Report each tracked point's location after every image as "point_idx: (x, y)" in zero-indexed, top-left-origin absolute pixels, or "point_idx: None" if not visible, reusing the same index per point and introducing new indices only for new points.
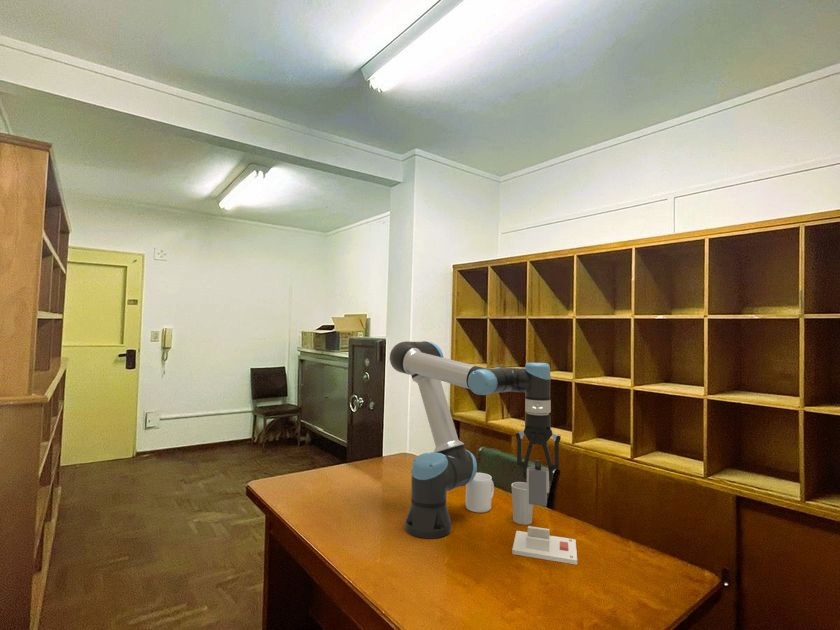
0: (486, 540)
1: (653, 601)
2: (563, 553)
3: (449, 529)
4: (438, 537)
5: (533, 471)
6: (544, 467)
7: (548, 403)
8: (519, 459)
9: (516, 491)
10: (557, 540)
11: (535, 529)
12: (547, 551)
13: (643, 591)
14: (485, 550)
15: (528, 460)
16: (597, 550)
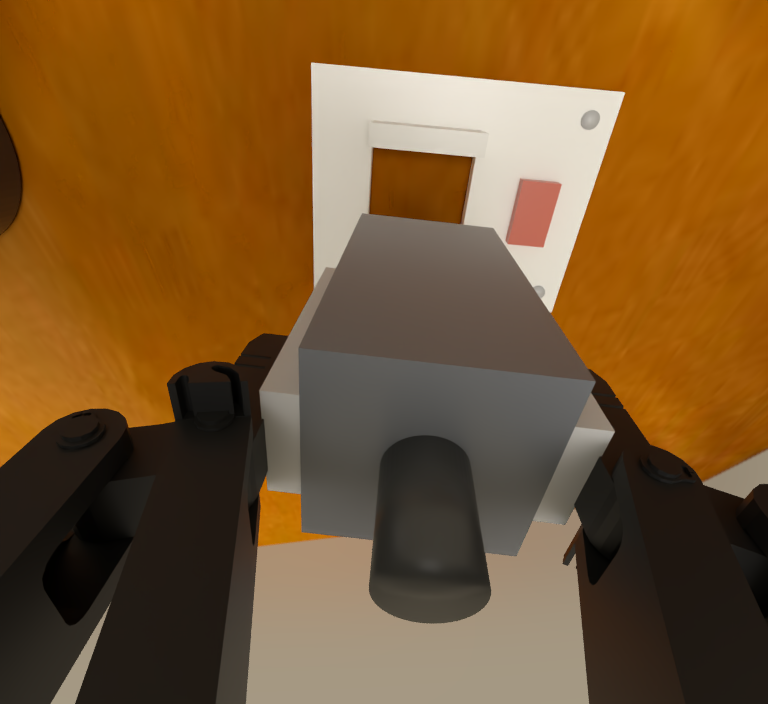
0: (195, 187)
1: (687, 441)
2: None
3: (4, 165)
4: (8, 226)
5: (360, 529)
6: (551, 386)
7: None
8: (81, 598)
9: None
10: (519, 139)
11: (409, 150)
12: None
13: (692, 407)
14: (218, 279)
15: (249, 612)
16: (697, 149)
